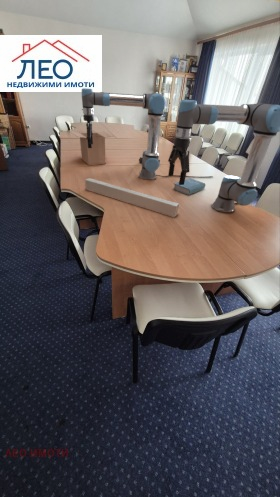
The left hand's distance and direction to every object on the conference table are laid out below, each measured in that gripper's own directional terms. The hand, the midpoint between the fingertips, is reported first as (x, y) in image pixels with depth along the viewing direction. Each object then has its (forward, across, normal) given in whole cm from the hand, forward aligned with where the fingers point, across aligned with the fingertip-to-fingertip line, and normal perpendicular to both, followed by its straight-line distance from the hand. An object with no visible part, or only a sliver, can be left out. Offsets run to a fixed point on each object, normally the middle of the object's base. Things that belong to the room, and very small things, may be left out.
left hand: (90, 146), depth 173 cm
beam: (+28, +40, +28) cm, 56 cm away
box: (+28, -60, -3) cm, 66 cm away
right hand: (0, +73, +51) cm, 89 cm away
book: (+28, +15, +81) cm, 87 cm away
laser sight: (+28, -55, +56) cm, 84 cm away
